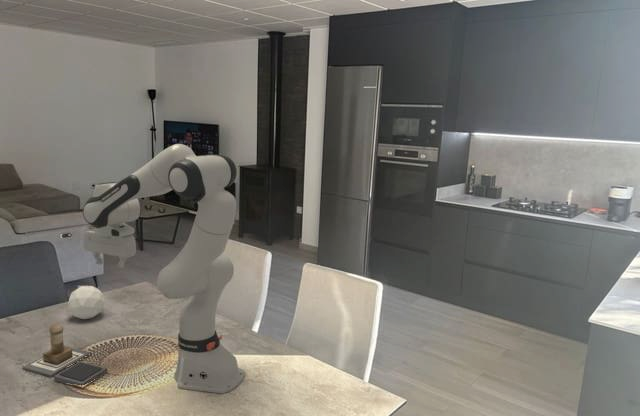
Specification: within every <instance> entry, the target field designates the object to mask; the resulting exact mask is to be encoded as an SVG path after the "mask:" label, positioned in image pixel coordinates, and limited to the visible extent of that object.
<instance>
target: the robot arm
mask: <svg viewBox="0 0 640 416" xmlns="http://www.w3.org/2000/svg"><path fill="white" fill-rule="evenodd" d="M237 171H238V170H237V167H236V164H235V162H234V161H233V159H232V158H230V157H229V156H227V155H224V154H213V153H212V154H205V155H196V154H195V152H194V151H193V149H192V148H190V147H189V146H188V145H185V144H183V143H175V144H172V145H170V146H169V147H168V146H167V148H165V149H164V150H161V151H160V152H159V153H158V154H156V155H155V156H154V157H153V158H152V159H151V160H150V161H148V162H147V163H146V164H144V165H143V166H142V167H140V168H139V169H138V170H136V171H134V172H132V173H130V175H128V176H126V177H125V178H123V179H122V180H120V181H119V182H117V181H109V182H99V183H97V184H96V185H95V186H94V190H93V196H92V197H89V198H88V200H86V202H85V203H84V206H83V208H82V217H83V219H84V220H85V222H86V223H88V225H87V226H85V228H84V235H83V249H84V251H85V252H90V253H92V256H93V258H94V261H95V264H96V265H102V264H103V263H104V262H103V258H101V254H104V255H109V256H114V257H118V259H119V262H118V263H116V265H117V267H116V268H117V269H124V268H125V263H126V261H127V258H131V257H133V256H135V255H136V253H137V243H136V242H137V241H136V238H135V235H134V234H135V228H134V227H133V226H131V225H128V224H127V223H129V222H134V221H137V220H138V219H139V218H140V217H141V214H142V212H143V208H142V207H143V206H142V202H141V200H140V199H142V198H148V197H156V196H161V195H164V194H167V193H169V192H171V191H174V192H175V194H176V195H177V196H179V197H181V198H183V199H185V200H186V202H188V203H190V204H196V203H197V212H196V215H195V218H194V221H193V225H192V228H191V230H190V233H189V236H188V239H187V241H186V242H185V244H184V246H183V248H182V249H181V250H180V252H179V253H178V254H177V255H176V256H175V258H174V259H172V261H171V262H170V263H168V264H166V266H165V267H163V268H161V270H160V271H159V273H158V276H157V288H158V290H159V291H160V294H161V295H163V296H164V297H165V298H166V299H168V300H173V299H174V300H175V299H185V298H188V297H189V299H187V301H186V302H185V303H184V304H183V305H182V307H181V309H180V310H179V318H178V319H179V324H178V325H179V332H178V335H177V337H178V338H177V345H178V348H179V349H178V358H177V365H176V368H175V372H174V379H175V380H176V383H177V388H178V389H184V390H191V391H200V392H208V393H214V394H215V393H216V394H226V393H228V392H230V391H232V390H234V389H235V388H236V387H238V385H239V384H241V383H242V381H244V379H245V376H246V373H245V369H243V368H241V367H239V365H238V360H237V357H236V356H235V355H234V354H233V353H232V352H231V351H229V350H228V349H227V348H226V347H225V346H224V345H223V344H222V343H221V342H220V341H221V340H222V339H223V335H222V334H221V335H219V336H218V333H217V330H216V316H217V315H216V313H217V307H218V304H219V301H220V298H221V295H222V293H223V291H224V289H225V288H226V287H227V285H228V284H229V282H231V280H232V279H233V277H234V273H235V267H234V264H233V262H232V260H231V259H230V257H229V256H227V254H223V253H224V252H225V250H226V247H227V245H228V241H229V239H230V235H231V233H232V229H233V227H234V226H233V225H234V221H235V217H236V211H237V210H236V209H237V201H236V197H235V196H234V195H233V194H232V193H231V192H229V191H228V190H225V189H226V188H228V187H230V186H231V185H232V184H234V182H235V181H236V179H237V174H238V173H237Z"/></svg>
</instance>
